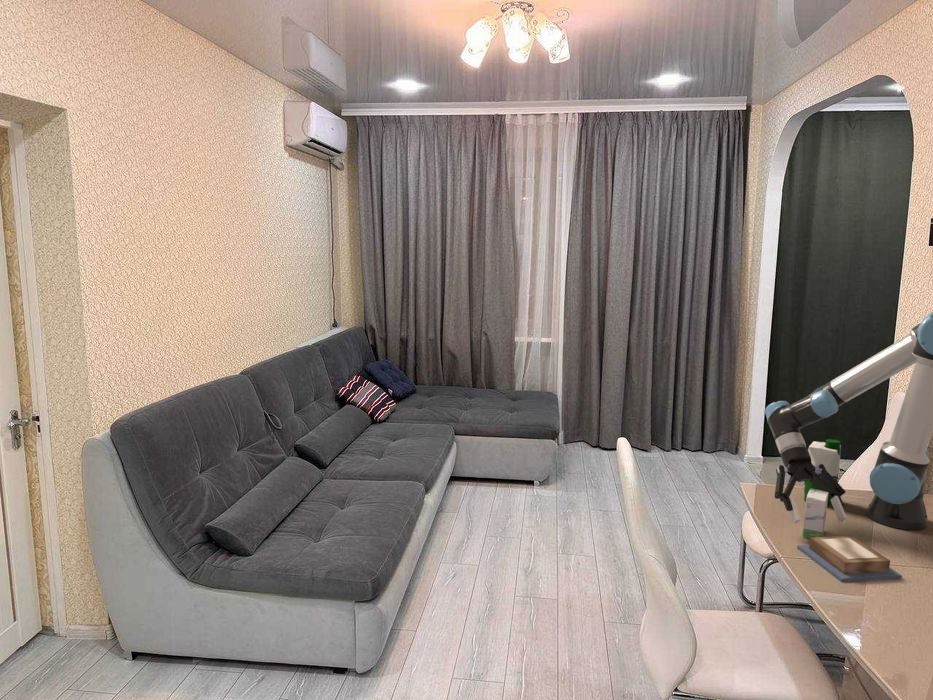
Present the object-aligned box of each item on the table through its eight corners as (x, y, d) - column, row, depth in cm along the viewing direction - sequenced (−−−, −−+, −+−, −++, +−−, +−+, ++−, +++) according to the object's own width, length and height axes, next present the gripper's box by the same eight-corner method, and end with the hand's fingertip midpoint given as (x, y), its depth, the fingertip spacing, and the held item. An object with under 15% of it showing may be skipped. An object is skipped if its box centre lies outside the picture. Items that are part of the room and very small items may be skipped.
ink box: (821, 541, 188) (826, 500, 186) (801, 537, 191) (806, 496, 189) (824, 530, 195) (829, 491, 193) (805, 526, 198) (809, 487, 196)
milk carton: (832, 508, 212) (839, 445, 208) (800, 501, 217) (806, 439, 214) (837, 499, 218) (844, 439, 215) (806, 493, 224) (812, 433, 220)
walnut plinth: (850, 546, 184) (852, 535, 183) (888, 571, 170) (890, 559, 169) (808, 548, 182) (810, 537, 182) (843, 574, 168) (845, 561, 168)
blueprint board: (852, 545, 186) (852, 542, 186) (901, 578, 168) (902, 575, 168) (797, 548, 184) (797, 545, 184) (841, 581, 166) (841, 578, 166)
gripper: (826, 456, 207) (854, 524, 195) (748, 458, 204) (771, 527, 192) (839, 444, 201) (869, 513, 188) (759, 446, 198) (784, 517, 185)
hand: (820, 520), depth 190 cm, fingers open, 13 cm apart
